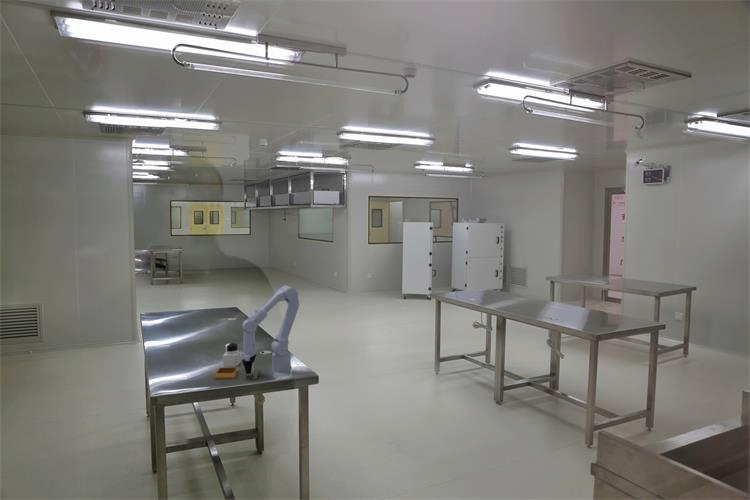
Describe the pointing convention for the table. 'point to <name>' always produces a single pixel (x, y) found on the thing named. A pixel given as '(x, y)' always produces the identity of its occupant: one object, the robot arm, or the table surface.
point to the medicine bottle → (231, 355)
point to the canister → (251, 371)
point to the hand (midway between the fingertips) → (249, 371)
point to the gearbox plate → (233, 374)
